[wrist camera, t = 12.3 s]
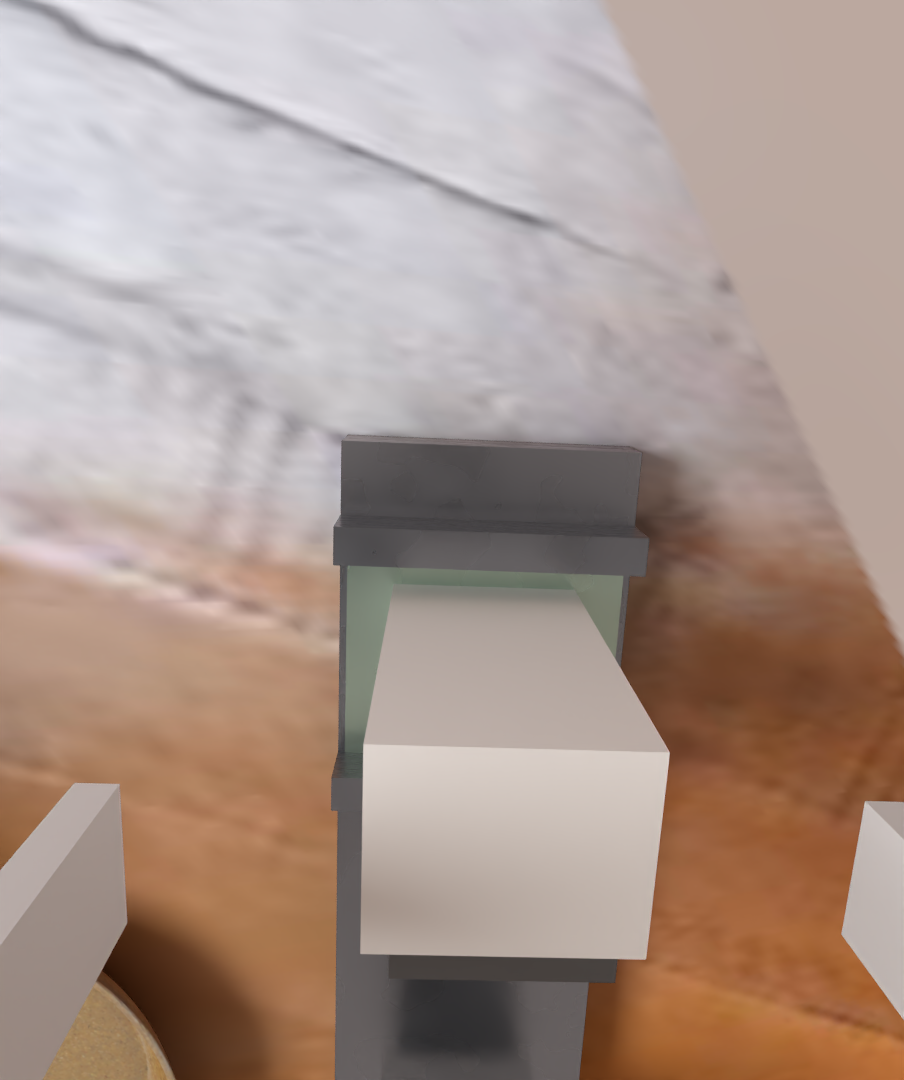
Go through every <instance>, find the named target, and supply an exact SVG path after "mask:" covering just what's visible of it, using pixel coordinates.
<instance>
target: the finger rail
mask: <svg viewBox="0 0 904 1080" xmlns="http://www.w3.org/2000/svg"><path fill="white" fill-rule="evenodd" d="M641 460H642V453H641V452H639V451H637V450H635V449H633V448H631V447H629V446H605V445H581V444H557V443H533V442H509V441H485V440H461V439H437V438H413V437H389V436H365V435H347V436H346V437H345V438H344V439H343V440H342V448H341V515H340V517H339V519H338V520H337V522H336V524H335V525H334V538H333V565H340V642H339V740H338V754H337V758H336V762H335V766H334V770H333V774H332V785H331V810H332V811H338V837H337V934H336V1032H335V1080H579V1075H580V1065H581V1055H582V1045H583V1035H584V1026H585V1016H586V1006H587V996H588V986H589V982H536V981H482V980H428V979H389V955H385V954H360V938H361V870H362V801H363V743H364V738H365V733H366V727H367V722H368V717H369V712H370V706H371V701H372V696H373V690H374V685H375V680H376V675H377V669H378V664H379V659H380V653H381V648H382V643H383V638H384V632H385V627H386V622H387V616H388V611H389V606H390V600H391V595H392V590H393V585H394V584H414V585H445V586H475V587H506V588H536V589H567V590H575V591H576V593H577V595H578V596H579V598H580V600H581V602H582V603H583V605H584V607H585V608H586V610H587V612H588V613H589V615H590V617H591V619H592V620H593V622H594V624H595V625H596V627H597V629H598V631H599V632H600V634H601V636H602V637H603V639H604V641H605V643H606V644H607V646H608V648H609V649H610V651H611V653H612V654H613V656H614V658H615V660H616V661H617V663H618V665H619V666H620V668H621V658H622V648H623V638H624V628H625V619H626V609H627V599H628V589H629V579H630V576H642V577H646V567H647V558H648V548H649V538H648V537H647V536H646V535H645V534H643V533H642V532H641V531H640V530H639V529H638V528H636V527H635V519H636V509H637V499H638V489H639V480H640V470H641Z"/></svg>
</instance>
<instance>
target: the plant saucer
mask: <svg viewBox="0 0 904 1080" xmlns="http://www.w3.org/2000/svg"><path fill="white" fill-rule="evenodd" d="M43 1080H176V1079H175V1076H174V1074H173V1071H172V1068H171V1065H170V1063H169V1060H168V1058H167V1056H166V1053H165V1051H164V1049H163V1047H162V1045H161V1043H160V1041H159V1039H158V1037H157V1035H156V1034H155V1032H154V1030H153V1029H152V1027H151V1025H150V1024H149V1022H148V1020H147V1019H146V1018H145V1016H144V1015H143V1013H142V1012H141V1011H140V1010H139V1008H138V1007H137V1006H136V1004H135V1003H134V1002H133V1001H132V999H131V998H130V997H129V996H128V995H127V994H126V993H125V992H124V991H123V990H122V989H121V988H120V987H119V986H118V985H117V984H116V983H115V982H114V981H113V980H112V979H111V978H110V977H109V976H107V975H106V974H105V973H104V972H103V971H101V973H100V974H99V976H98V978H97V980H96V982H95V984H94V986H93V987H92V989H91V991H90V993H89V995H88V997H87V998H86V1000H85V1002H84V1004H83V1006H82V1008H81V1010H80V1011H79V1013H78V1015H77V1017H76V1019H75V1021H74V1023H73V1024H72V1026H71V1028H70V1030H69V1032H68V1034H67V1035H66V1037H65V1039H64V1041H63V1043H62V1045H61V1047H60V1048H59V1050H58V1052H57V1054H56V1056H55V1058H54V1060H53V1061H52V1063H51V1065H50V1067H49V1069H48V1071H47V1072H46V1074H45V1076H44V1078H43Z"/></svg>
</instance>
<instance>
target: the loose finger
mask: <svg viewBox="0 0 904 1080" xmlns="http://www.w3.org/2000/svg"><path fill="white" fill-rule="evenodd" d="M669 757H670V752H669V750H668V748H667V747H666V745H665V743H664V741H663V740H662V738H661V736H660V735H659V733H658V731H657V730H656V728H655V726H654V724H653V723H652V721H651V719H650V718H649V716H648V714H647V712H646V711H645V709H644V707H643V706H642V704H641V702H640V701H639V699H638V697H637V695H636V694H635V692H634V690H633V689H632V687H631V685H630V683H629V682H628V680H627V678H626V677H625V675H624V673H623V672H622V670H621V668H620V666H619V665H618V663H617V661H616V660H615V658H614V656H613V654H612V653H611V651H610V649H609V648H608V646H607V644H606V643H605V641H604V639H603V637H602V636H601V634H600V632H599V631H598V629H597V627H596V625H595V624H594V622H593V620H592V619H591V617H590V615H589V613H588V612H587V610H586V608H585V607H584V605H583V603H582V602H581V600H580V598H579V596H578V595H577V593H576V591H575V590H567V589H536V588H506V587H475V586H445V585H414V584H394V585H393V590H392V595H391V600H390V606H389V611H388V616H387V622H386V627H385V632H384V638H383V643H382V648H381V653H380V659H379V664H378V669H377V675H376V680H375V685H374V690H373V696H372V701H371V706H370V712H369V717H368V722H367V727H366V733H365V738H364V743H363V801H362V870H361V938H360V954H385V955H389V979H428V980H482V981H536V982H590V983H615V979H616V970H617V960H618V959H641V960H646V955H647V946H648V938H649V929H650V920H651V912H652V903H653V895H654V886H655V877H656V869H657V860H658V851H659V843H660V834H661V826H662V817H663V808H664V800H665V791H666V783H667V774H668V765H669Z"/></svg>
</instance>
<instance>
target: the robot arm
mask: <svg viewBox="0 0 904 1080" xmlns="http://www.w3.org/2000/svg"><path fill="white" fill-rule="evenodd" d="M126 925H127V907H126V889H125V872H124V854H123V836H122V818H121V800H120V784H96V783H74V784H73V785H72V786H71V788H70V789H69V790H68V791H67V792H66V793H65V795H64V796H63V797H62V798H61V799H60V800H59V802H58V803H57V804H56V805H55V806H54V808H53V809H52V810H51V811H50V812H49V813H48V815H47V816H46V817H45V818H44V819H43V821H42V822H41V823H40V824H39V825H38V826H37V828H36V829H35V830H34V831H33V832H32V833H31V835H30V836H29V837H28V838H27V839H26V841H25V842H24V843H23V844H22V845H21V846H20V848H19V849H18V850H17V851H16V852H15V853H14V855H13V856H12V857H11V858H10V859H9V861H8V862H7V863H6V864H5V865H4V866H3V868H2V869H1V870H0V1080H43V1078H44V1076H45V1074H46V1072H47V1071H48V1069H49V1067H50V1065H51V1063H52V1061H53V1060H54V1058H55V1056H56V1054H57V1052H58V1050H59V1048H60V1047H61V1045H62V1043H63V1041H64V1039H65V1037H66V1035H67V1034H68V1032H69V1030H70V1028H71V1026H72V1024H73V1023H74V1021H75V1019H76V1017H77V1015H78V1013H79V1011H80V1010H81V1008H82V1006H83V1004H84V1002H85V1000H86V998H87V997H88V995H89V993H90V991H91V989H92V987H93V986H94V984H95V982H96V980H97V978H98V976H99V974H100V973H101V971H102V969H103V967H104V965H105V963H106V961H107V960H108V958H109V956H110V954H111V952H112V950H113V949H114V947H115V945H116V943H117V941H118V939H119V937H120V936H121V934H122V932H123V930H124V928H125V926H126ZM842 936H843V937H844V938H845V940H846V941H847V943H848V944H849V945H850V947H851V948H852V949H853V951H854V952H855V954H856V955H857V956H858V958H859V959H860V960H861V962H862V963H863V965H864V966H865V967H866V969H867V970H868V971H869V973H870V974H871V976H872V977H873V978H874V980H875V981H876V982H877V984H878V985H879V987H880V988H881V989H882V991H883V992H884V993H885V995H886V996H887V998H888V999H889V1000H890V1002H891V1003H892V1004H893V1006H894V1007H895V1009H896V1010H897V1011H898V1013H899V1014H900V1015H901V1017H902V1018H903V1020H904V802H881V801H865V804H864V810H863V816H862V821H861V827H860V833H859V838H858V844H857V850H856V855H855V861H854V867H853V872H852V878H851V884H850V889H849V895H848V901H847V906H846V912H845V918H844V923H843V929H842Z"/></svg>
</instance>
